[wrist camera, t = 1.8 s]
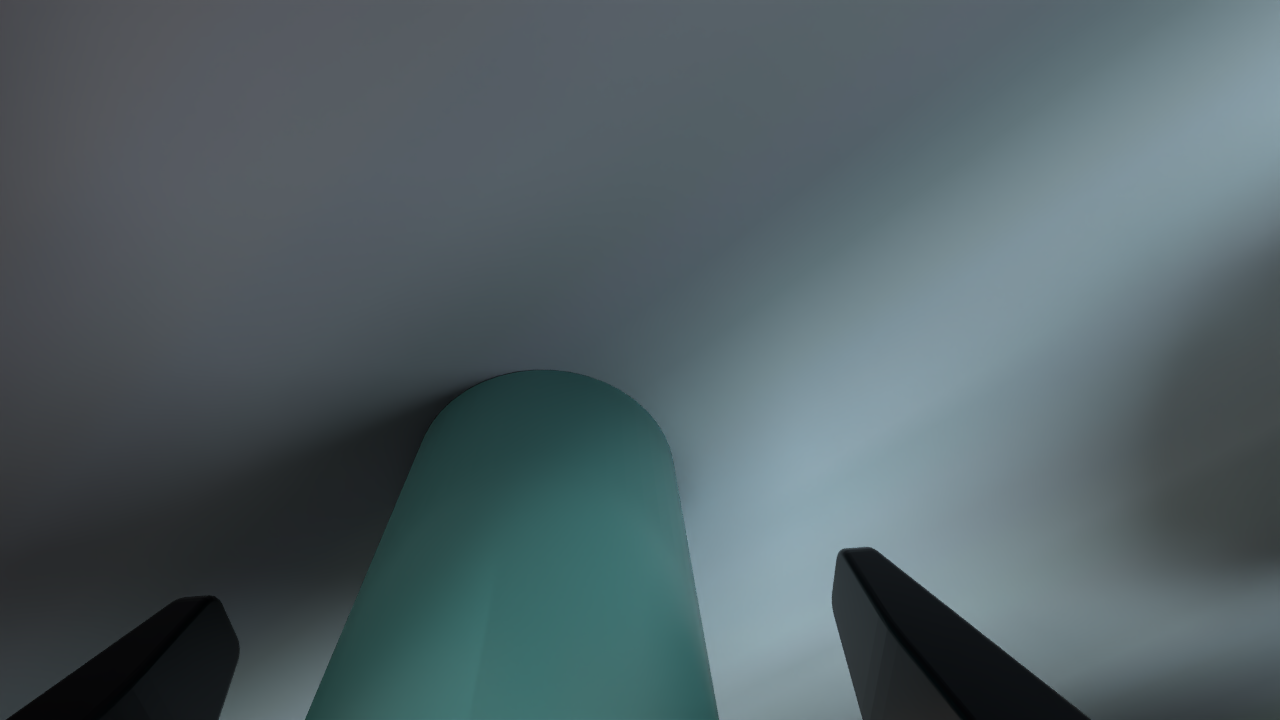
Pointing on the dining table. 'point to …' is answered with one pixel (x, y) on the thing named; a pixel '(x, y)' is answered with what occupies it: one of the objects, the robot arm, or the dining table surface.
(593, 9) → the dining table surface
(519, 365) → the dining table surface
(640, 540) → the marker
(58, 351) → the dining table surface
